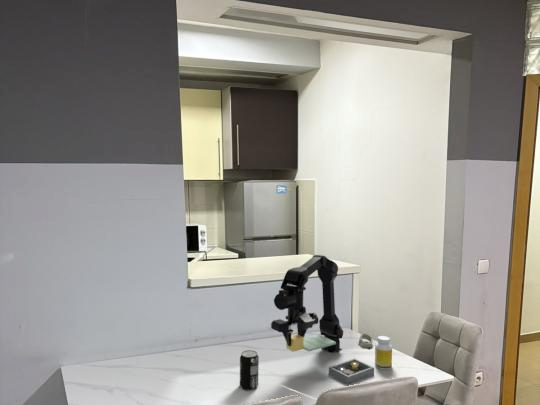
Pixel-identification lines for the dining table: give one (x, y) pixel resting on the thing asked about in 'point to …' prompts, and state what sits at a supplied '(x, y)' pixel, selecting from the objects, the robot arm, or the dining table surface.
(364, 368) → the tub
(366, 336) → the wristwatch
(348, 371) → the walnut block
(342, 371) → the chrome dome knob
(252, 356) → the beverage can
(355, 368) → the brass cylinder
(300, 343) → the grooved mint slab
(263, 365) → the dining table surface
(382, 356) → the pill bottle
